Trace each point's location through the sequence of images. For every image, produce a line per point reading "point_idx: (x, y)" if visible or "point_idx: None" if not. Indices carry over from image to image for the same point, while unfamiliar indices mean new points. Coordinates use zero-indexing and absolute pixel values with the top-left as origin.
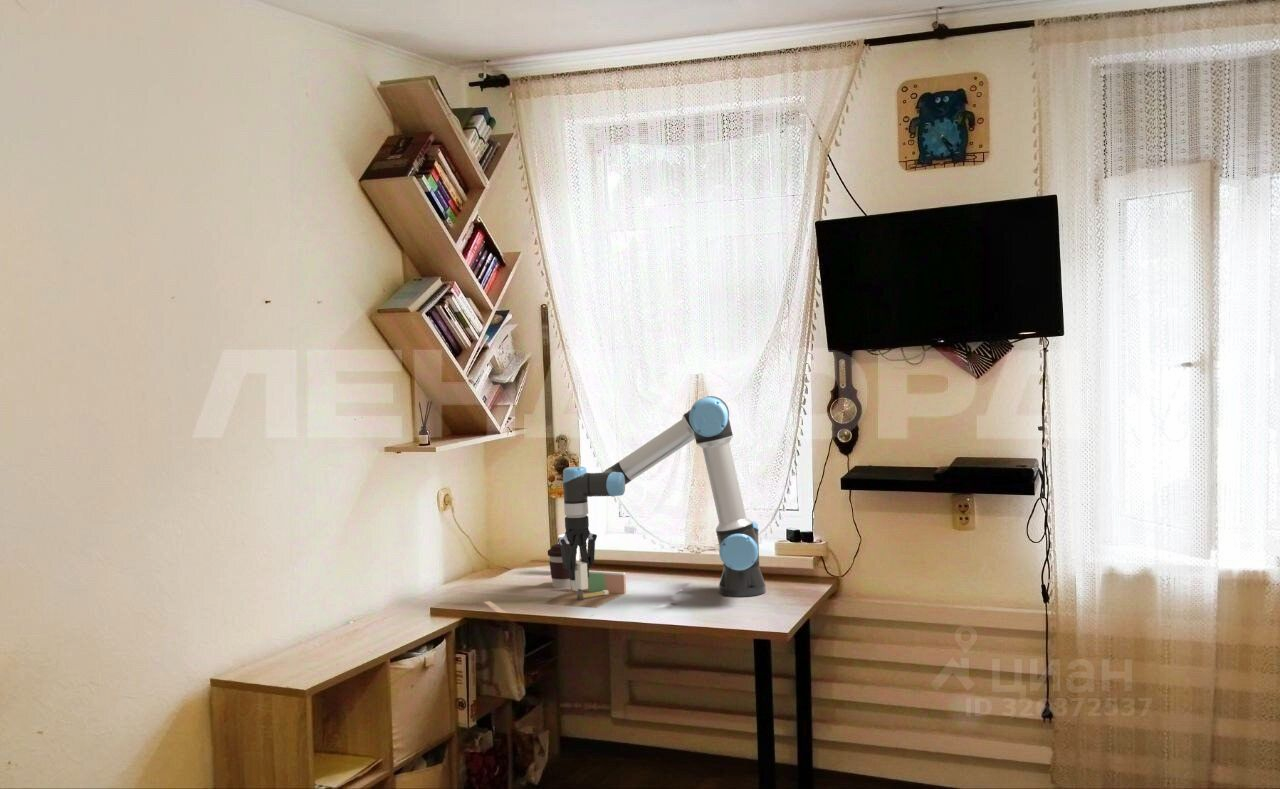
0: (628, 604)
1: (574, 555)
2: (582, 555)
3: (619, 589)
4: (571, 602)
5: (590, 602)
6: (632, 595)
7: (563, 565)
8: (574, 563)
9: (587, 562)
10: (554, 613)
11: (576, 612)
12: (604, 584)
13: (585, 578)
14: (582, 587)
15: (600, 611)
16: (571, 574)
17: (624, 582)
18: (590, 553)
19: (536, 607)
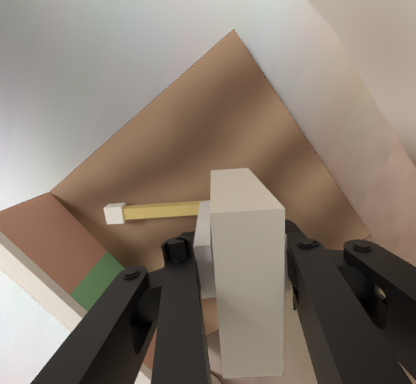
0: (77, 74)
1: (351, 331)
2: (207, 358)
3: (55, 212)
4: (273, 181)
5: (214, 136)
6: (24, 200)
7: (384, 301)
8: (312, 268)
9: (176, 276)
10: (371, 113)
11: (299, 75)
12: (95, 269)
13: (225, 180)
14: (242, 169)
15: (215, 28)
16: (303, 235)
17: (12, 208)
18: (106, 361)
19: (371, 235)
